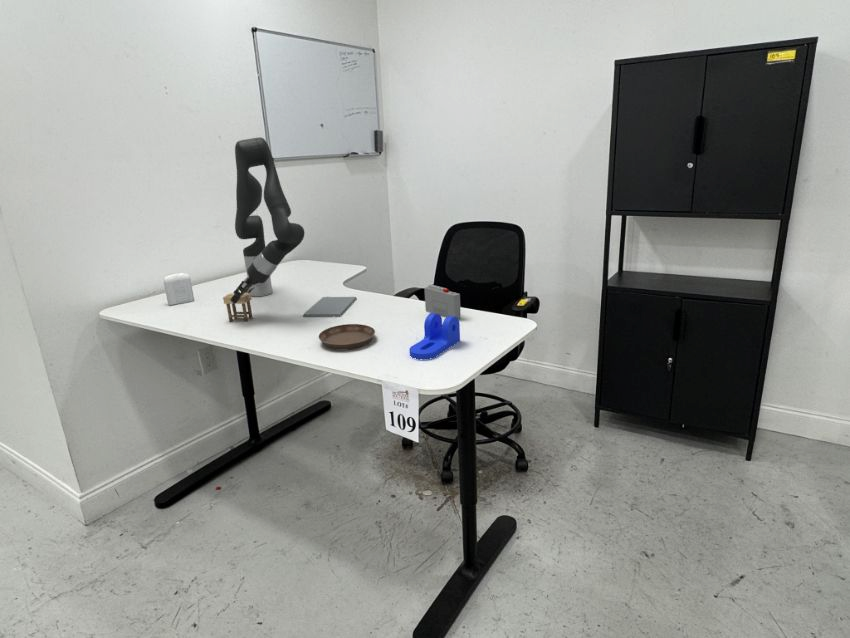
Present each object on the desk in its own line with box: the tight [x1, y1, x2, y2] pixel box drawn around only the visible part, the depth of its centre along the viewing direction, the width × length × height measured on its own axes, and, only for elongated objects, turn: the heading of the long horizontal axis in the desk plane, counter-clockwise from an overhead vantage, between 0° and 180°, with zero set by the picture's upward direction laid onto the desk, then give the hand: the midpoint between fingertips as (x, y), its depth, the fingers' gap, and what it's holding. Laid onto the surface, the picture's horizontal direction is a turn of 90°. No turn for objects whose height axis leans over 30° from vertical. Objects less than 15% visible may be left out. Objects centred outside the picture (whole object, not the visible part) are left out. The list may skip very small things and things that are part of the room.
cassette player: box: [424, 284, 462, 320], centre depth 184 cm, size 16×3×10 cm, turn 40°
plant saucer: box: [318, 323, 376, 351], centre depth 165 cm, size 18×18×3 cm
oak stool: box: [222, 292, 253, 323], centre depth 191 cm, size 5×8×9 cm, turn 81°
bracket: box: [409, 313, 461, 360], centre depth 154 cm, size 18×8×9 cm, turn 147°
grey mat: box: [302, 296, 357, 318], centre depth 201 cm, size 22×14×1 cm, turn 171°
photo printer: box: [163, 272, 195, 306], centre depth 217 cm, size 10×4×12 cm, turn 123°
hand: (238, 298), depth 190 cm, fingers open, 8 cm apart
